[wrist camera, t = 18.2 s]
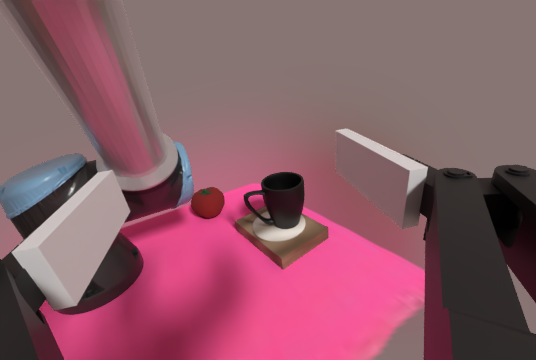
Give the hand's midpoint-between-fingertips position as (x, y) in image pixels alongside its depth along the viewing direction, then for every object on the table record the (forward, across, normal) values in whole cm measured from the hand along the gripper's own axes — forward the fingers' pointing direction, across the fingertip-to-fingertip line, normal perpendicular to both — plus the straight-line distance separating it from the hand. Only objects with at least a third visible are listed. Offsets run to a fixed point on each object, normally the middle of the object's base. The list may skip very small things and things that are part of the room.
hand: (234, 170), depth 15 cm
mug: (+28, +7, -25) cm, 39 cm away
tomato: (+43, -8, -28) cm, 52 cm away
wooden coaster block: (+28, +7, -28) cm, 41 cm away
